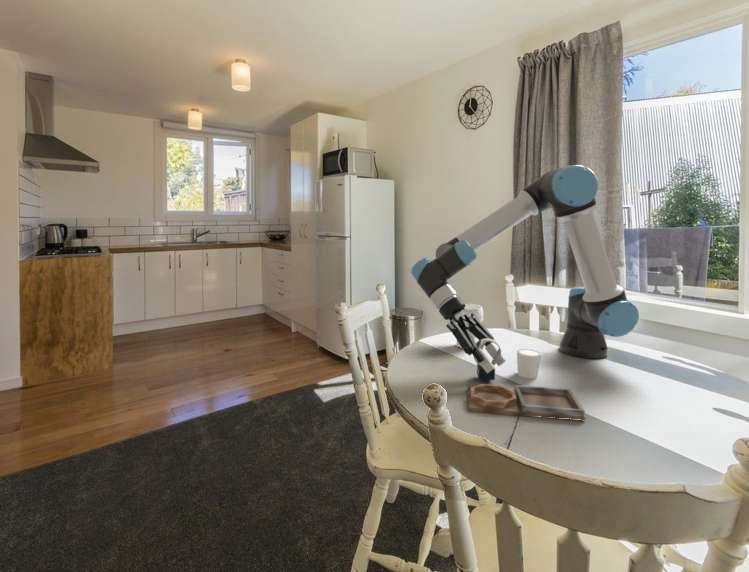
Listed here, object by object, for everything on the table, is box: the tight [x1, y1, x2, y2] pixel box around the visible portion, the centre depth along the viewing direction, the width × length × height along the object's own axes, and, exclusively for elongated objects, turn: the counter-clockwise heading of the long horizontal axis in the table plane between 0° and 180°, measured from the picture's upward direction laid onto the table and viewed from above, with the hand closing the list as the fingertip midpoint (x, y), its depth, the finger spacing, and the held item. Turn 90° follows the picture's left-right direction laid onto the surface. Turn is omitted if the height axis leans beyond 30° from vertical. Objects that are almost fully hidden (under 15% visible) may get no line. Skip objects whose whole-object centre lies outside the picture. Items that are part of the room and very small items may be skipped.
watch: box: [472, 338, 502, 381], centre depth 118 cm, size 6×8×11 cm
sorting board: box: [467, 383, 586, 421], centre depth 103 cm, size 26×13×2 cm, turn 79°
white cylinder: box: [516, 348, 542, 379], centre depth 123 cm, size 7×7×7 cm
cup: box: [455, 303, 484, 349], centre depth 150 cm, size 11×11×15 cm
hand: (496, 366), depth 116 cm, fingers closed on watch, 7 cm apart
